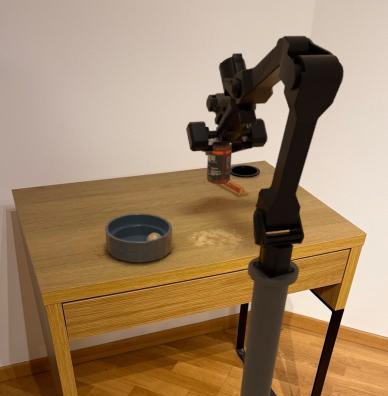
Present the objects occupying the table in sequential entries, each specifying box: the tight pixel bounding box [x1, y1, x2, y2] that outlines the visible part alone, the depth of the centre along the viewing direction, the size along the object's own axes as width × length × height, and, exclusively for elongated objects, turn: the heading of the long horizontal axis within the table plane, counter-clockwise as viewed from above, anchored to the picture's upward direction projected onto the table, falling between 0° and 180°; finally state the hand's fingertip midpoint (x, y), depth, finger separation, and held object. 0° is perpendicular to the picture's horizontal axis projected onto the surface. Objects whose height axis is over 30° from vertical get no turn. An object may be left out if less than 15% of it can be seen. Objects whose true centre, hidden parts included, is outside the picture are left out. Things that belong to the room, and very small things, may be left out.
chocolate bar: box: [218, 179, 247, 197], centre depth 137 cm, size 3×12×2 cm, turn 32°
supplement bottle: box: [206, 142, 233, 185], centre depth 123 cm, size 6×6×11 cm
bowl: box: [104, 212, 173, 263], centre depth 107 cm, size 14×14×5 cm
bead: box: [146, 233, 162, 241], centre depth 106 cm, size 4×4×4 cm
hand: (217, 152), depth 123 cm, fingers closed on supplement bottle, 6 cm apart
